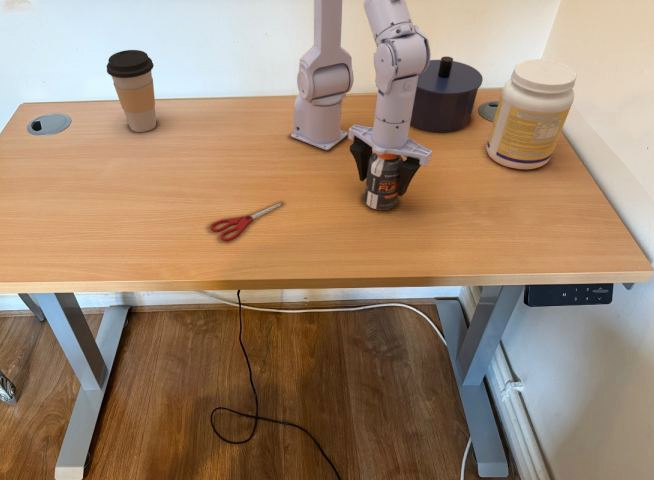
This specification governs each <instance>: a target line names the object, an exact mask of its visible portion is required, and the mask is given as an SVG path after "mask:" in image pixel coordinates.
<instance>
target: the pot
mask: <svg viewBox="0 0 654 480" xmlns="http://www.w3.org/2000/svg"><path fill="white" fill-rule="evenodd" d="M478 90H479V88H478V89H477V90H475V91H473V92H470V93H467V94H462V95H437V94H431V93H427V92H424V91H421V90H419V89H417V88H416V93H415V99H414V104H413V110H412V116H411V122H410V127H413V128H415V129H418V130H421V131H423V132H429V133H441V134H443V133H453V132H457V131H459V130H462V129H463V128H465V127H466V126H468V125H469V123H470V121H471V117H472V114H473V110H474V106H475V102H476V99H477V94H478Z"/></svg>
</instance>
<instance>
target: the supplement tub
mask: <svg viewBox="0 0 654 480" xmlns="http://www.w3.org/2000/svg"><path fill="white" fill-rule="evenodd" d="M510 75H511V76H510V78H509V79H508V80H507V81H506V82H505V83H504V84H503V87H502V89H501V93H500V97H499V99H498V104H497V107H496V110H495V114H494V117H493V120H492V124H491V126H490V127H491V128H490V131H489V134H488V137H487V141H486V146H485V147H486V148H485V149H486V152H487V155H488V156H489V157H490V158H491V159H492V160H493V161H494V162H496V163H497V164H500V165H502V166H504V167H507V168H511V169H515V170H516V169H517V170H533V169H538V168H540V167H542V166H545V165H546V164H547V163H548V162H549V161H550V160H551V158H552V156H553V153H554V150H555V148H556V146H557V143H558V140H559V138H560V135H561V133H562V131H563V128H564V125H565V123H566V121H567V118H568V115H569V113H570V110H571V108H572V106H573V103H574V99H575V92H574V89H573V88H574V87H575V84H576V79H577V77H578V75H577V72H576V71H575V69H573V68H572V67H570V66H569V65H567V64H565V63H563V62H558V61H555V60H551V59H542V58H536V59H526V60H523V61H521V62H518V63H517V64H516V65H515V66H514V68H513V70H512V73H511V74H510Z"/></svg>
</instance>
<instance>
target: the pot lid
mask: <svg viewBox="0 0 654 480" xmlns="http://www.w3.org/2000/svg"><path fill="white" fill-rule="evenodd" d="M483 79H484V78H483V75H482V74H481V72H480V71H478V70H477V69H476V68H474V66H471V65H468V64H466V63H464V62H460V61H457V60H454V58H453V57H451V56H442V57H441V58H440V59H430V63H429V66H428V68H427V69H426V71H425V72H423V73H420V74H418V82H417V87H416V88H417V89H419V90H421V91H424V92H427V93H431V94H437V95H462V94H467V93H470V92H473V91H475V90H477V89H478V90H479V89H480V88H481V85H482V84H483Z"/></svg>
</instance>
